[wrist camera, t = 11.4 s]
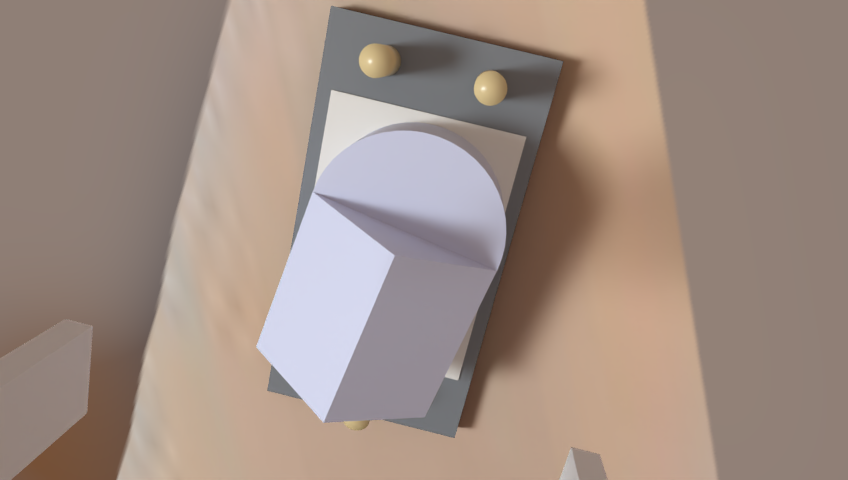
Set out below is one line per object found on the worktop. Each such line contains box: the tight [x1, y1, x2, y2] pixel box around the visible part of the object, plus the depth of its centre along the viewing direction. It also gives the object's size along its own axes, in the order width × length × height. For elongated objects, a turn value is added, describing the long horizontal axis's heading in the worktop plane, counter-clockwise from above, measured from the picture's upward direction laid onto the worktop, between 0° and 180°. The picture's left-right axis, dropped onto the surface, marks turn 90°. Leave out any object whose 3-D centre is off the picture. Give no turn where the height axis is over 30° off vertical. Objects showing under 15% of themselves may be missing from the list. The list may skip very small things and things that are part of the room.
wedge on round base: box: [256, 122, 506, 423], centre depth 27 cm, size 9×7×13 cm
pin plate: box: [267, 6, 563, 438], centre depth 29 cm, size 21×11×4 cm, turn 167°
